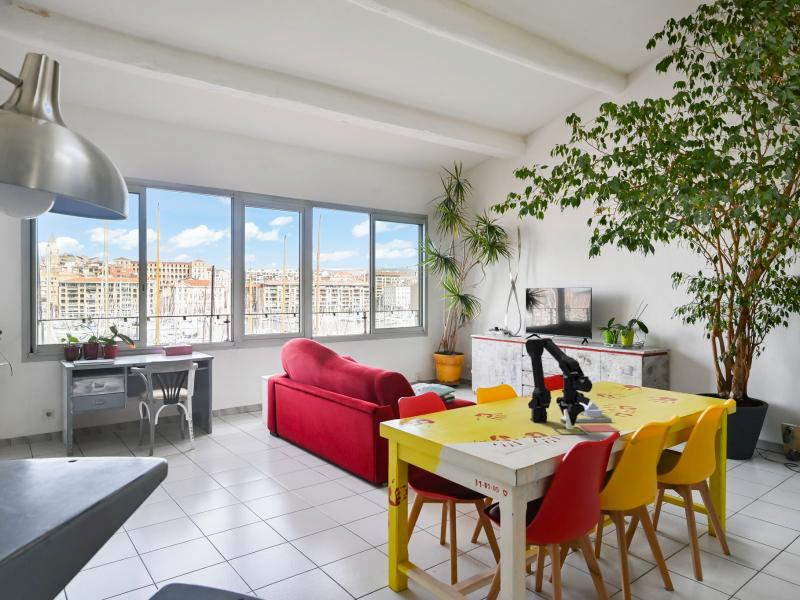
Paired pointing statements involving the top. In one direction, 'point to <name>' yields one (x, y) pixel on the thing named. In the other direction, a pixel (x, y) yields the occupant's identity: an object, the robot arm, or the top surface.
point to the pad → (599, 428)
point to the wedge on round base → (592, 410)
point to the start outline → (570, 433)
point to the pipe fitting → (567, 420)
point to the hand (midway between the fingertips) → (569, 423)
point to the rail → (590, 420)
